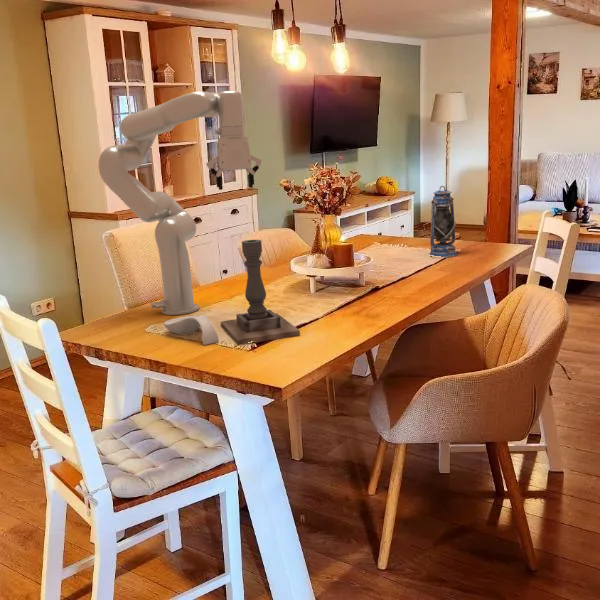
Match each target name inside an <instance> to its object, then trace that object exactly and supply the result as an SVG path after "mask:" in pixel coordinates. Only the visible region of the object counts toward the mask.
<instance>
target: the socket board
mask: <svg viewBox="0 0 600 600" xmlns="http://www.w3.org/2000/svg"><path fill="white" fill-rule="evenodd" d="M266 313H268V318H265V319H258V320H251V321H248V320H247V314H249V313H248V312H243V313H237V314H236V315H235V316H236V318H235V319H229V320H222V321H220V327H221V328H222V329H223V330H224V331H225V332H226V334H227V335H230V336H231V337H232V338H231V337H230V336H229V337H230V338H231V339H232V340H233V342H235V343H236V344H237V345H238V346H241V344H242V345H245V344H244V343H248V342H251V341H256V342H255V343H261V342H267V341H273V340H279V339H280V340H281V339H285V338H286V339H287V338H292V337H299V336H301V330H300V329H298V328H297V327H296V326H295V325H293V324H292V323H291V322H289V320H287V319H286V318H284V317H283V316H281V315H280V314H279V313H275V312H273V311H272V309H267V311H266Z"/></svg>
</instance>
